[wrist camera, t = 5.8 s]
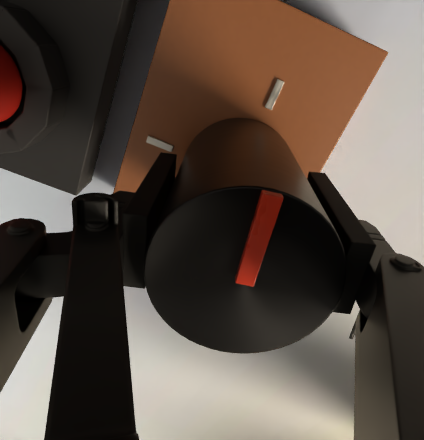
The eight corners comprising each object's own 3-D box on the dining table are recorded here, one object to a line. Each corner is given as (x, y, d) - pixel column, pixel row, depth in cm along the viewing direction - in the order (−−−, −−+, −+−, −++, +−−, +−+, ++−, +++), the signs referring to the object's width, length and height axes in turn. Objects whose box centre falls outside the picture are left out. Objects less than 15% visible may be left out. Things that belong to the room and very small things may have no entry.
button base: (91, 181, 23) (61, 210, 19) (-68, 121, 22) (-137, 139, 18) (151, -51, 17) (127, -79, 13) (-59, -150, 16) (-156, -215, 12)
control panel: (274, 251, 25) (280, 278, 22) (121, 193, 23) (106, 214, 20) (384, 59, 19) (411, 62, 16) (190, -33, 18) (182, -47, 15)
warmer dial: (275, 233, 21) (308, 376, 12) (173, 212, 20) (130, 341, 11) (310, 132, 18) (386, 218, 9) (193, 105, 18) (157, 167, 9)
